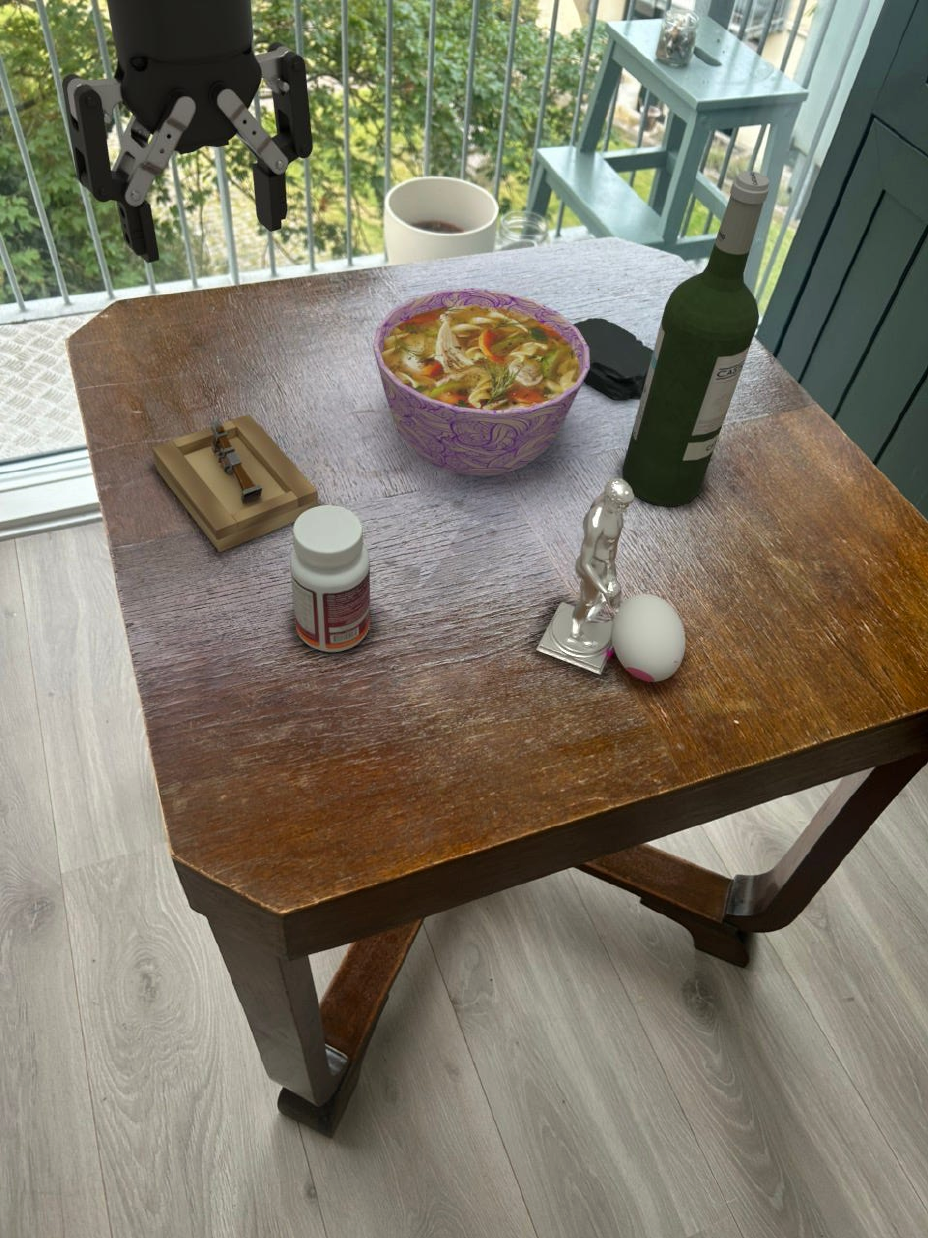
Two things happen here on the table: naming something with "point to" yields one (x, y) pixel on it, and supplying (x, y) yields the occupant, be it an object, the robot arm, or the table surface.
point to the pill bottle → (330, 578)
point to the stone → (615, 358)
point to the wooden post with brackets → (232, 462)
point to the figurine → (592, 586)
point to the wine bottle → (697, 360)
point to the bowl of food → (479, 377)
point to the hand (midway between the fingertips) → (210, 240)
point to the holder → (235, 483)
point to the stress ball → (648, 637)
